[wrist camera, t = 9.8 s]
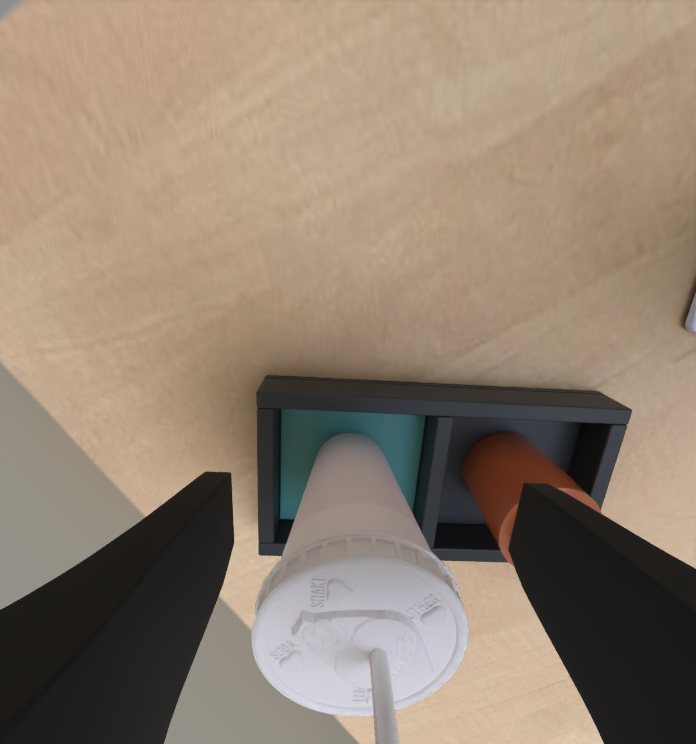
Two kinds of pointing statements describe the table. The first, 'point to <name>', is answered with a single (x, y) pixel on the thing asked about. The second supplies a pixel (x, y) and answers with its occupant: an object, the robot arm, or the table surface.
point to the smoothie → (358, 597)
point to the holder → (425, 446)
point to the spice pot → (511, 480)
